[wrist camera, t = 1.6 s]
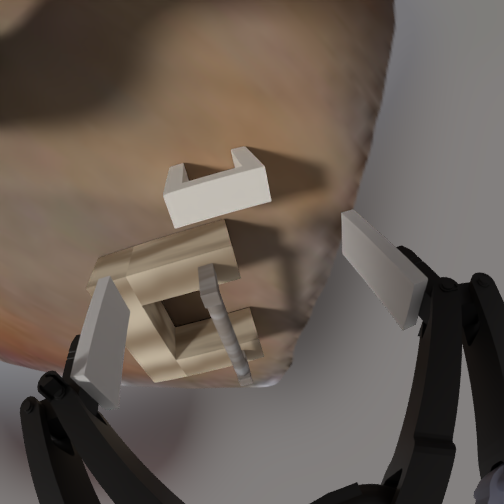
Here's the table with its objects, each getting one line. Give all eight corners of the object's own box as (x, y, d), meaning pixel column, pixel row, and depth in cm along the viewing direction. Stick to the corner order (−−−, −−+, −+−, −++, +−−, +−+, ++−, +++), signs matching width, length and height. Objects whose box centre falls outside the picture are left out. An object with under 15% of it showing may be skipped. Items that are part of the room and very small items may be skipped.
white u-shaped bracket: (169, 167, 28) (162, 195, 21) (244, 146, 29) (264, 166, 21) (177, 193, 30) (175, 228, 23) (250, 172, 30) (271, 201, 23)
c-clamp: (98, 257, 31) (75, 317, 23) (224, 219, 32) (239, 272, 24) (155, 351, 41) (154, 408, 33) (254, 325, 42) (272, 382, 34)
